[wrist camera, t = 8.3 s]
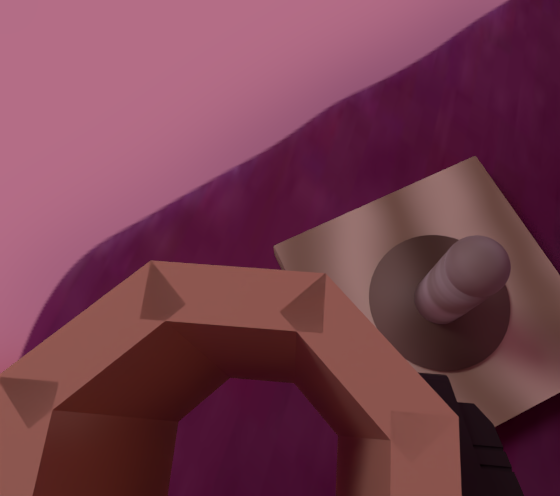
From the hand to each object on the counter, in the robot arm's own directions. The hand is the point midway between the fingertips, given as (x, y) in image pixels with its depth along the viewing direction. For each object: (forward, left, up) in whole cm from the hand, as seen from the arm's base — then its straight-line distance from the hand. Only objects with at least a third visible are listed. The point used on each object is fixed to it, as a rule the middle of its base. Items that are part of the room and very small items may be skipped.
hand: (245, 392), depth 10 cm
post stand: (-11, -2, -18) cm, 21 cm away
